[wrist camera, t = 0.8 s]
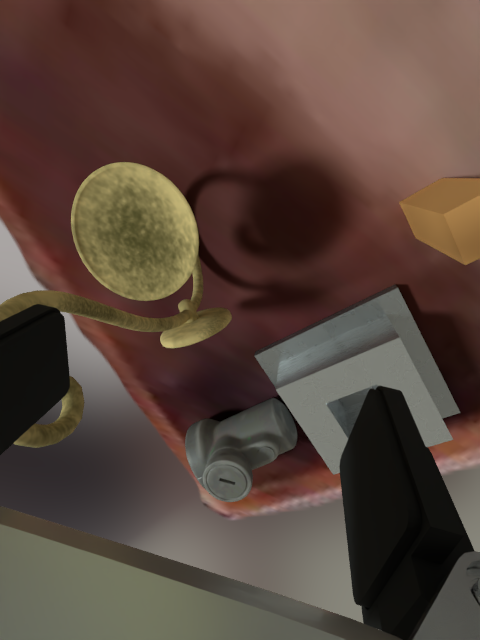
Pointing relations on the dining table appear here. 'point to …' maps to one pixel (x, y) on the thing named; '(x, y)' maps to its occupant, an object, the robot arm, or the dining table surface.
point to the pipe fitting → (238, 447)
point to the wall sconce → (128, 268)
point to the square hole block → (357, 372)
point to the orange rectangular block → (447, 217)
